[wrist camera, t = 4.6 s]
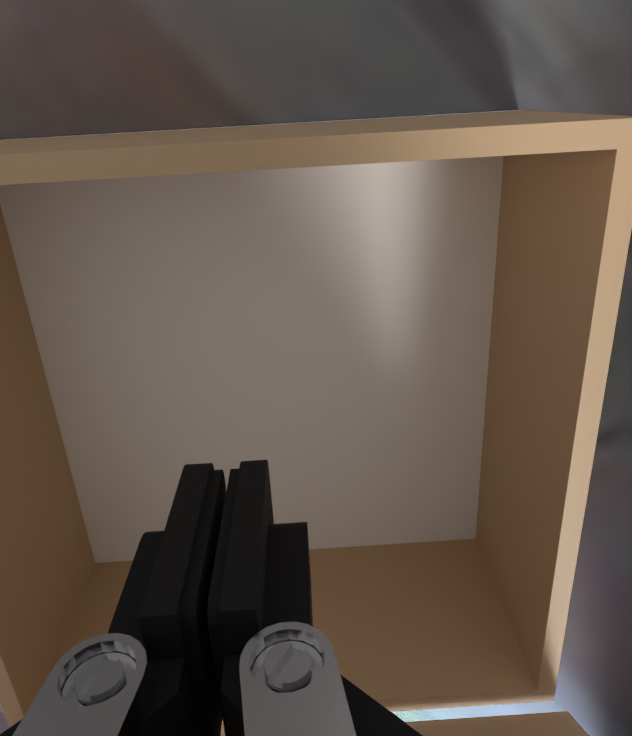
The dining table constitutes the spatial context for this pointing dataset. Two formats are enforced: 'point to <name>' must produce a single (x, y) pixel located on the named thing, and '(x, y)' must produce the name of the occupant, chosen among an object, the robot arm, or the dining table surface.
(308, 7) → the dining table surface
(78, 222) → the box
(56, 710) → the robot arm
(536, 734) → the mailer lid
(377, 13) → the dining table surface
